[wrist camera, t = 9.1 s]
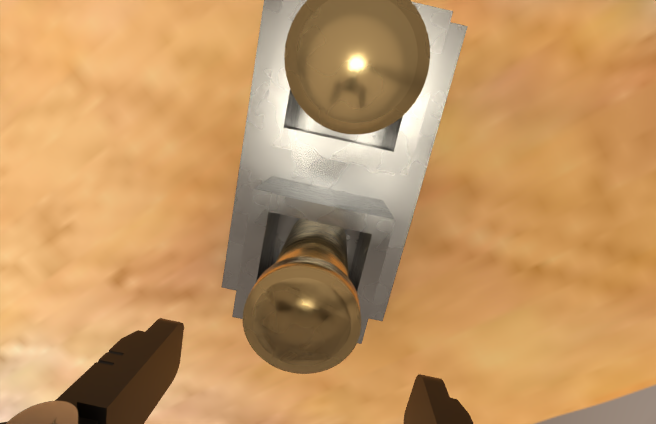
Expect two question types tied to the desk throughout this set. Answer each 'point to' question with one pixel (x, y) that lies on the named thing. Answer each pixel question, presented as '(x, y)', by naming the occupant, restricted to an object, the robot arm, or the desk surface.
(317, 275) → the brass stub
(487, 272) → the desk surface
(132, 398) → the robot arm
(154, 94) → the desk surface
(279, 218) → the grey double holder
